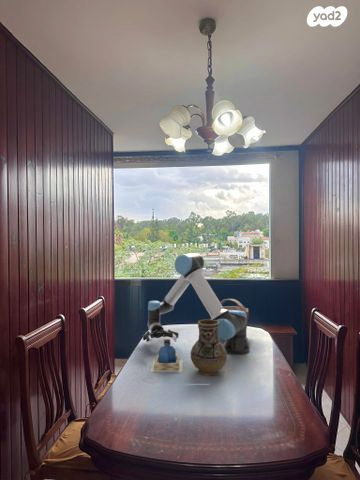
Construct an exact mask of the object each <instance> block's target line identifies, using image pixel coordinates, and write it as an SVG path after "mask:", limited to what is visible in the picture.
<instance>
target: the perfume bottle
mask: <svg viewBox="0 0 360 480" xmlns="http://www.w3.org/2000/svg"><path fill="white" fill-rule="evenodd" d="M176 353H177V352H176V349H175V348H174V347H173V345H171V339H167V338H166V339H164V340H163V346H161V347H160V349H159V350H158V355H159V363H176Z"/></svg>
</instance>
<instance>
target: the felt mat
mask: <svg viewBox="0 0 360 480" xmlns="http://www.w3.org/2000/svg"><path fill="white" fill-rule="evenodd" d="M154 362H155V359H153V360H152V364H151V367H150V370H149V372H150V373H182V372H183V369H184V368H183V367H184V365H183V364H184V360H183V359H179V370H154Z"/></svg>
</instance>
